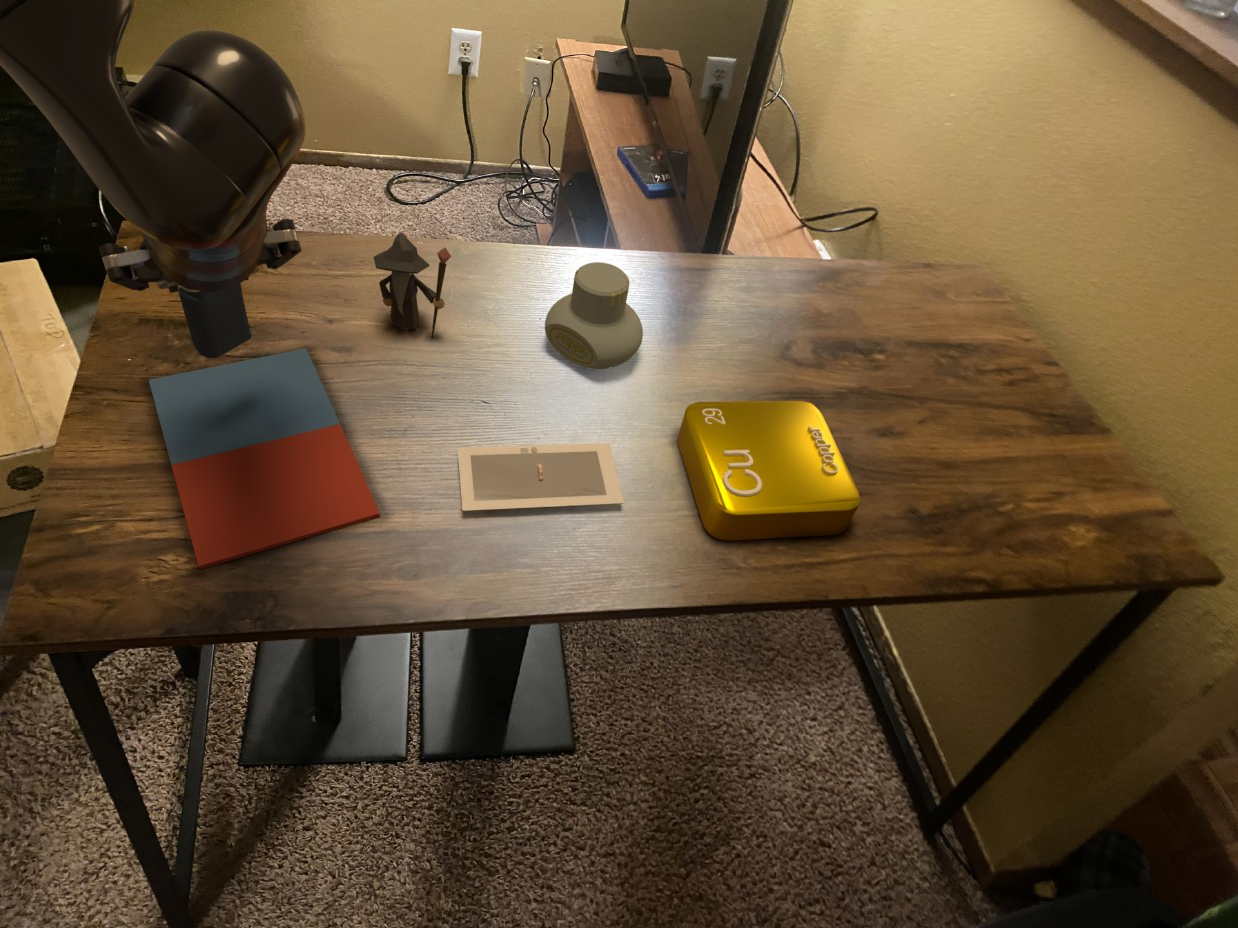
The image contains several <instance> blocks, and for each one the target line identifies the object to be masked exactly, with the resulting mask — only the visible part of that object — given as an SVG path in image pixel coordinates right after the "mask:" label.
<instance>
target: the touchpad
mask: <svg viewBox="0 0 1238 928" xmlns="http://www.w3.org/2000/svg"><path fill="white" fill-rule="evenodd" d="M612 452H613V451H612V448H611V443H609V442H599V443H598V442H597V443H568V444H566V443H565V444H562V443H561V444H536V445H535V444H534V445H533V444H531V445H530V444H529V445H502V446H501V445H500V446H499V445H497V446H494V445H493V446H465V447H464V446H463V447H457V456H458V458H457V459H458V469H459V470H458V471H459V472H458V473H459V483H460V496H461V511H462V512H467V511H485V510H486V511H487V510H488V511H490V510H510V509H528V508H529V509H531V508H552V507H572V506H574V507H575V506H576V507H577V506H595V505H616V504H619V505H620V504H624V503H625V502H624V498H623V493H622V490H621V489H622V488H621V486H620V481H619V477H618V473H617V469H616V465H615V459H614V456H613V453H612Z"/></svg>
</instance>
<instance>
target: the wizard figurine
mask: <svg viewBox="0 0 1238 928" xmlns="http://www.w3.org/2000/svg"><path fill="white" fill-rule="evenodd" d="M436 254H437V257H438V259H439V262H438V270H437V279H436V280H437V281H436V290H433V289H431V288H429V286H427V285H426V284H425V283H424V282H422V281H421V280H420V279H419V278H418V277H417V276H415V275H417V274H419V273H421V272H422V271H424V270H427V269H428V268H429V267H430V266H431V264H430V263H428V262H427V260H425V259H424V258H423V257H421V256H420V254H418V248H417V246H415V245H414V244H413V243H412V242H411V240H410V239H408V237H407V235H405V233H404V232H400V233H398V234H397V235H396V236H395V238H394V239H393V242H392V245H391V246H390V247H389V248H388V249H387V250H384V251H382V252H380V253H377V254H376V255H375V256H373V262H374V265H375V269H378V270H383V271H388V272H391V273H390V275H388V276H386V277H385V278H382V279H381V280H380V281H379V282H378V284H379V288H380V294H381V297H382V303H383V305H384V306H386V307H390V314H389V319H390V322H391V330H392V331H395V332H397V333H398V332H400V330H407V333H408V334H411V333H412V334H413V333H417V330H418V329H417V328H418V327H419V326H420V325H421V320H420V313H419V305H418V298H417V295H418V289H419V290H420V291H421V293H422V294H423V295H424V296H425V298H426V299H427V301H428V302H429V303H430V304H432V305H433V307H434V311H433V318H432V327H431V336H430V338H431V339H434V336H435V335H434V334H435V328H436V324H437V317H438V311H439V310H441V309H443V308H444V307H445V305H446V304H445V300H444V299H443V298H442V297H441V295H442V291H443V290H442V289H443V284H444V281H445V275H446V269H447V262H448V261H449V260H450V259H451V258H452V255H451V254H450V252H449V251H448V249H447V247H443V248H442V249H440V250H439V251H438V252H437V253H436ZM387 285H389V286H388V287H387Z"/></svg>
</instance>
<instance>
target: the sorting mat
mask: <svg viewBox="0 0 1238 928" xmlns="http://www.w3.org/2000/svg"><path fill="white" fill-rule="evenodd" d="M148 383H149V388H150V391H151V395H152V398H153V403H154V406H155V410H156V414H157V417H158V421H159V425H160V429H161V433H162V436H163V438H164V439H163V440H164V444H165V447H166V450H167V451H166V452H167V454H168V455H167V456H168V459H169V462H170V466H171V469H172V474H173V477H174V481H175V484H176V488H177V492H178V495H179V499H180V503H181V508H182V511H183V514H184V518H185V521H186V526H187V529H188V534H189V536H190V540H191V544H192V548H193V552H194V555H195V556H194V557H195V560H196V563H197V567H198V569H199V570H203V569H206V568H209V567H213V566H217V565H220V564H223V563H226V562H230V561H234V560H237V559H240V558H243V557H247V556H250V555H251V556H252V555H254V554H258V553H261V552H264V551H268V550H271V549H274V548H278V547H281V546H284V545H288V544H291V543H294V542H297V541H302V540H304V539H309V538H311V537H312V538H313V537H314V536H319V535H321V534H325V533H329V532H332V531H335V530H339V529H342V528H345V527H349V526H352V525H355V524H359V523H362V522H366V521H369V520H373V519H376V518H379V517H381V514H380V510H379V508H378V506H377V504H376V501H375V500H374V497H373V495H372V492H371V490H370V488H369V485H368V484H367V482H366V481H367V480H366V479H365V477H364V474H363V472H362V470H361V467H360V465H359V463H358V460H357V459H356V456H355V454H354V452H353V449H352V448H351V445H350V443H349V440H348V439H347V436H346V434H345V432H344V429H343V427H342V425H341V422H340V421H339V418H338V416H337V414H336V412H335V410H334V407H333V404H332V402H331V401H330V397H329V396H328V393H327V392H326V391H327V390H326V389H325V387H324V384H323V383H322V380H321V377H320V375H319V373H318V371H317V369H316V366H315V365H314V362H313V359H312V357H311V355H310V352H309V351H308V349H307V348H306V347H305V348H300V349H295V350H290V351H284V352H280V353H274V354H270V355H265V356H260V357H256V358H255V357H254V358H250V359H245V360H240V361H234V362H230V363H225V364H219V365H216V366H211V367H205V368H200V369H196V370H191V371H185V372H180V373H174V374H170V375H165V376H160V377H155V378H150V379H148Z"/></svg>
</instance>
